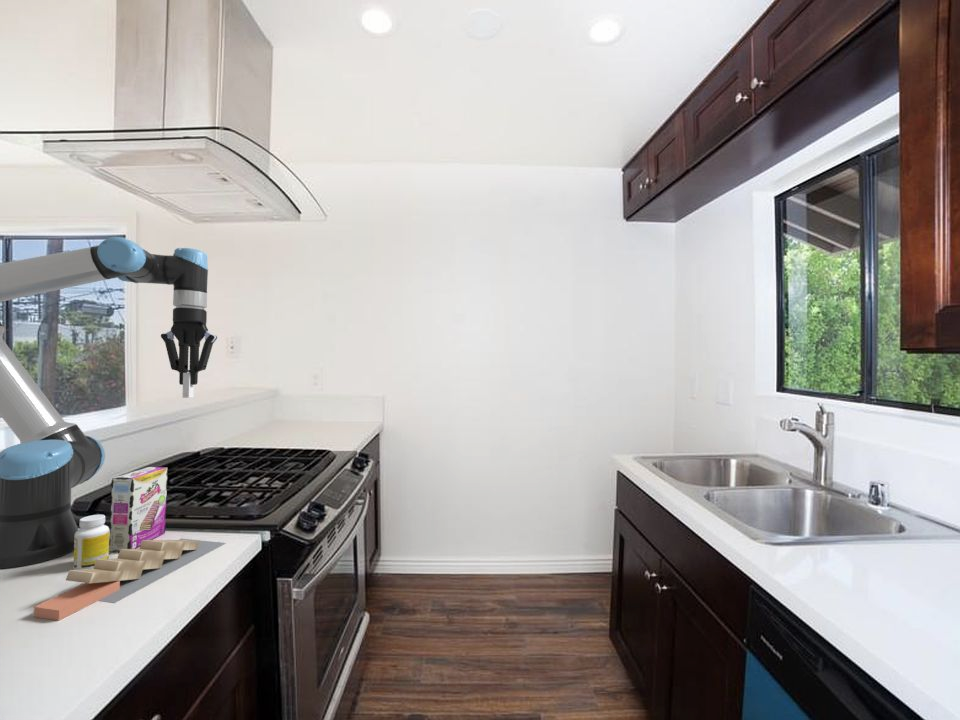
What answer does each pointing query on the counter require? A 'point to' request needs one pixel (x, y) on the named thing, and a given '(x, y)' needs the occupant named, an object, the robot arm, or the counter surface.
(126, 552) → the domino
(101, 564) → the domino
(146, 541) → the domino
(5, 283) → the robot arm
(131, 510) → the candy bar box
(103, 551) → the supplement bottle
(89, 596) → the domino
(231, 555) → the counter surface
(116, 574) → the domino
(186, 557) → the mat
